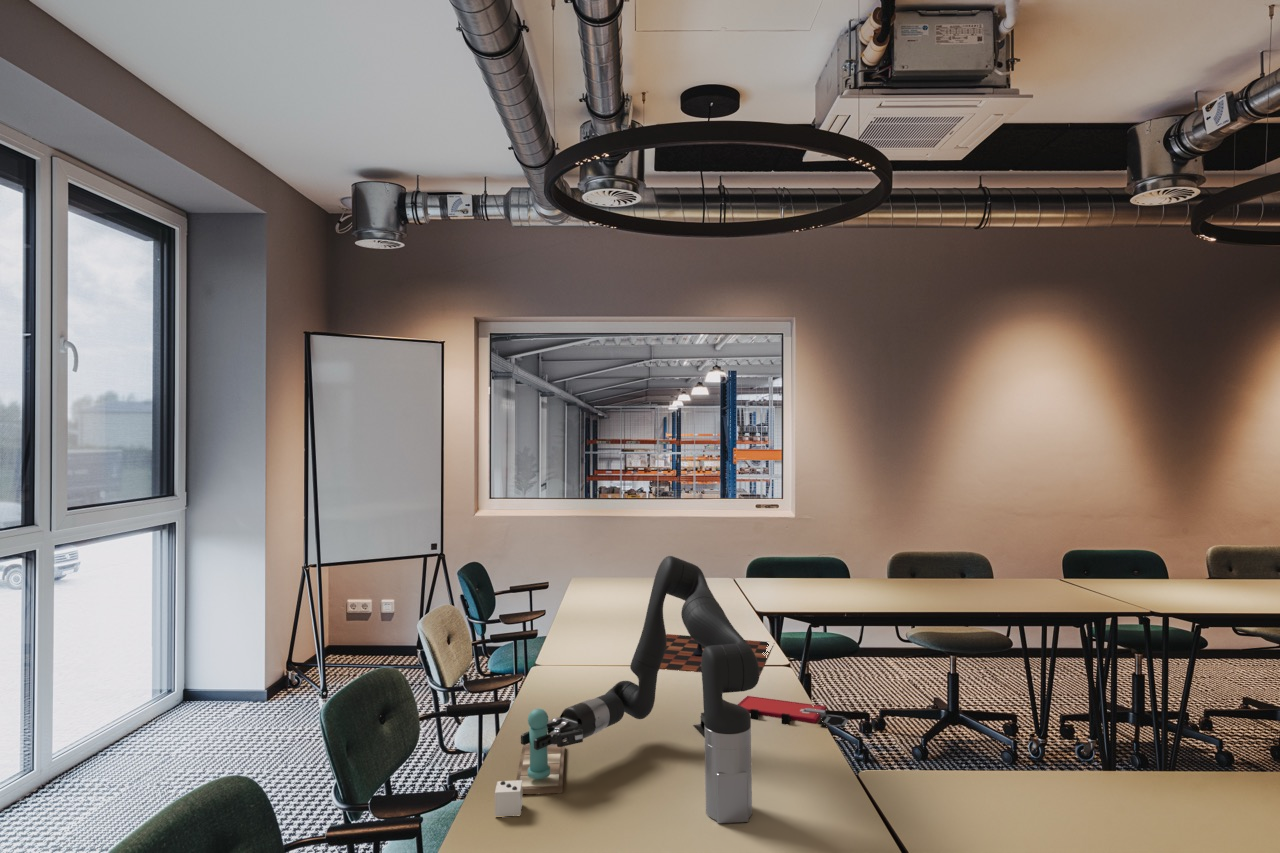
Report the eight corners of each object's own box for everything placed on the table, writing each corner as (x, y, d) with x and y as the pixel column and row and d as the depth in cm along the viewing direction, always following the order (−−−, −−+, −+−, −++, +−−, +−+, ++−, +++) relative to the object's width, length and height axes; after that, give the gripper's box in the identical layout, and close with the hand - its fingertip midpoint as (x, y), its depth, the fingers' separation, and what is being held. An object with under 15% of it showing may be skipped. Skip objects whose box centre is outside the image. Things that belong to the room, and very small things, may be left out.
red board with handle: (841, 734, 195) (854, 715, 208) (841, 722, 195) (854, 704, 208) (728, 717, 208) (747, 700, 222) (728, 706, 208) (747, 690, 222)
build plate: (730, 740, 193) (730, 722, 193) (703, 744, 191) (702, 725, 191) (713, 722, 205) (713, 704, 205) (687, 725, 203) (686, 707, 203)
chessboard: (635, 668, 252) (635, 634, 252) (666, 636, 290) (666, 607, 290) (759, 679, 241) (759, 644, 241) (774, 645, 279) (774, 614, 279)
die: (520, 816, 155) (520, 788, 155) (495, 817, 155) (494, 790, 155) (522, 804, 160) (522, 777, 160) (497, 805, 160) (497, 778, 160)
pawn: (549, 778, 166) (548, 712, 166) (526, 779, 165) (525, 713, 165) (550, 768, 170) (549, 704, 171) (528, 769, 170) (527, 705, 170)
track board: (562, 793, 165) (562, 786, 165) (514, 795, 164) (514, 788, 164) (564, 748, 188) (564, 742, 188) (523, 749, 187) (522, 744, 187)
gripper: (563, 696, 183) (506, 717, 170) (607, 709, 174) (550, 733, 161) (564, 728, 183) (507, 751, 170) (608, 743, 174) (551, 769, 161)
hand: (528, 742), depth 166 cm, fingers closed on pawn, 3 cm apart
